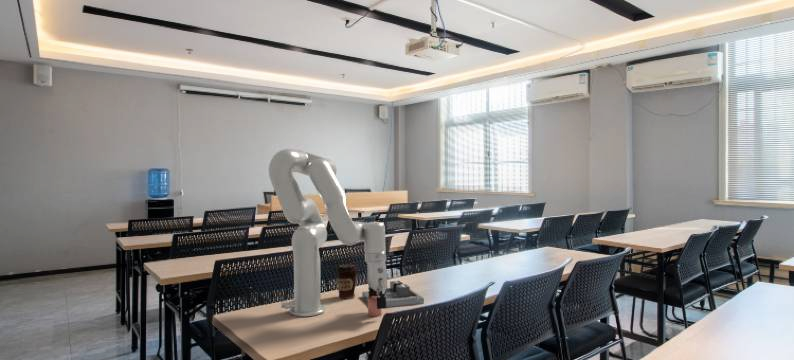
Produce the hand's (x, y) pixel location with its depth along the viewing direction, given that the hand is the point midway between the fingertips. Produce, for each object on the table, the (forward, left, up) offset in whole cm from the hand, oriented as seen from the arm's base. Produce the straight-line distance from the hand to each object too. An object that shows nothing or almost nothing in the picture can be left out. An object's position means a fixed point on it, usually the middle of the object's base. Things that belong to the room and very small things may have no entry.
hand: (377, 304), depth 160 cm
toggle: (+14, +11, -1) cm, 18 cm away
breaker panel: (+11, +15, -4) cm, 19 cm away
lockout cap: (-1, 0, -4) cm, 4 cm away
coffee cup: (-5, +25, -4) cm, 26 cm away
